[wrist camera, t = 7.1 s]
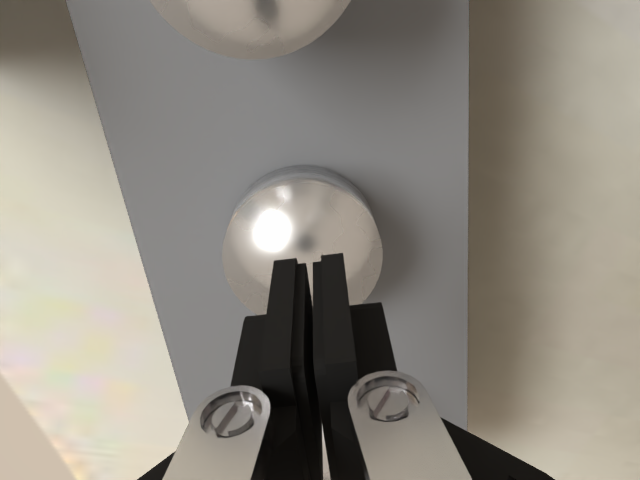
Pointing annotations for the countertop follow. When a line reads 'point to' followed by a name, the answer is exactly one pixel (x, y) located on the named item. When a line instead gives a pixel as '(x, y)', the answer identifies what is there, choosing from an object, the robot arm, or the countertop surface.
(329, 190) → the middle knob
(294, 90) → the control panel
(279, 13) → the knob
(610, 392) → the countertop surface
